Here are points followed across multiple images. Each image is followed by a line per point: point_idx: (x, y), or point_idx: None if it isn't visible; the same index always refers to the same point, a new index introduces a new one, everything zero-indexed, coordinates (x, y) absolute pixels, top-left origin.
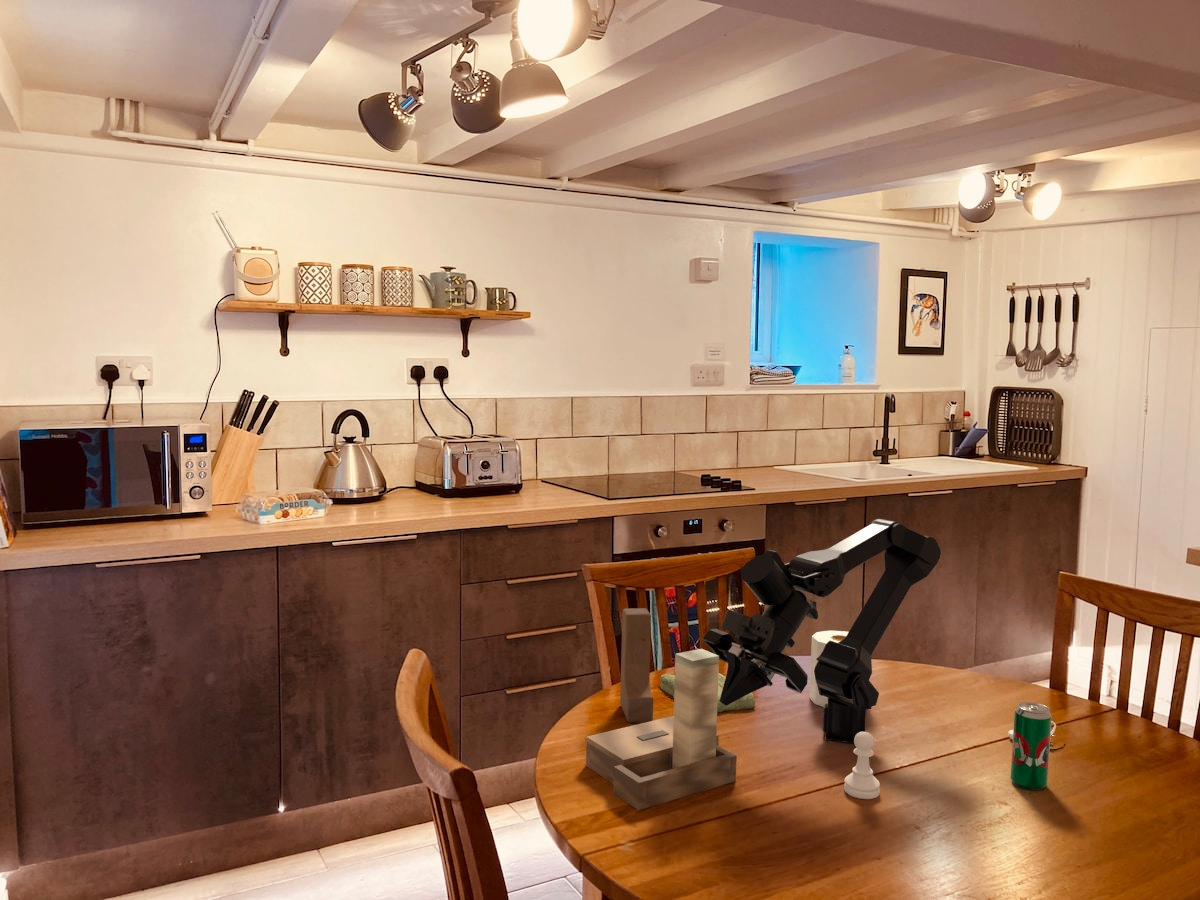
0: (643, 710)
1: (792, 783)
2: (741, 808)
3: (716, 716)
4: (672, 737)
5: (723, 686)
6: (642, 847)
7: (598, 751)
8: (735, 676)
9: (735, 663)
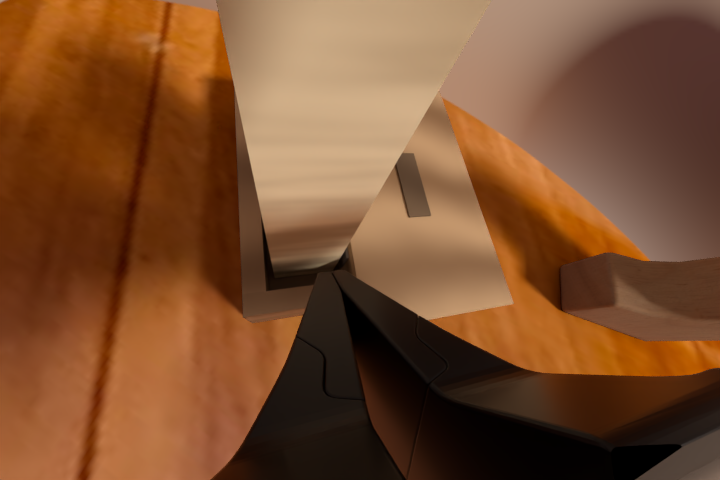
0: (583, 287)
1: (160, 475)
2: (133, 260)
3: (263, 217)
4: (390, 214)
5: (383, 294)
6: (131, 53)
7: None
8: (403, 391)
9: (485, 421)
